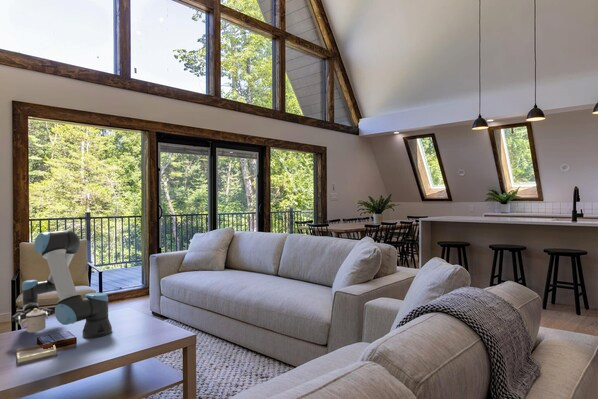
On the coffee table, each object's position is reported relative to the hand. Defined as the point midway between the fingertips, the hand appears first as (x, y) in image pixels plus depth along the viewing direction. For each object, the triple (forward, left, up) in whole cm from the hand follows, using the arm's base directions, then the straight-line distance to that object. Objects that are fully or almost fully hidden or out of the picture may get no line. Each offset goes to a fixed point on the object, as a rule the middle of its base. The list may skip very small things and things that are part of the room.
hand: (33, 319), depth 204 cm
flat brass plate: (-10, +11, -14) cm, 20 cm away
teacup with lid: (+3, -3, -8) cm, 8 cm away
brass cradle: (-14, +16, -13) cm, 25 cm away
